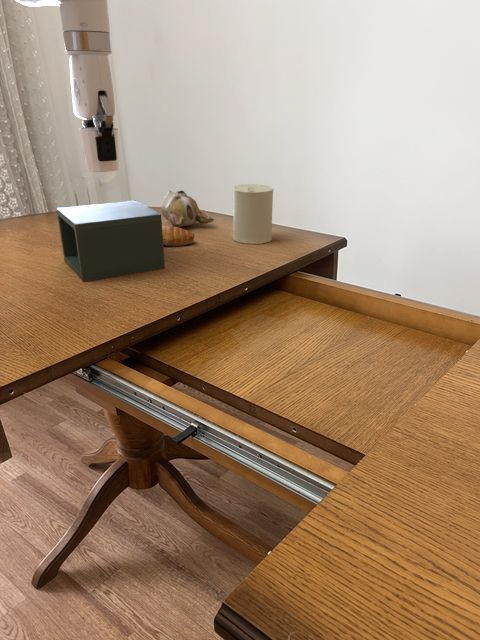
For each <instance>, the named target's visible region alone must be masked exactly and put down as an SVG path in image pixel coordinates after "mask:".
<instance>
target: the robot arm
mask: <svg viewBox="0 0 480 640" xmlns="http://www.w3.org/2000/svg"><path fill="white" fill-rule="evenodd" d="M15 1H16V2H17V3H19V4H21V5H24V6H27V7H44V6H57V7H59V12H60V21H61V29H62V36H63V42H64V43H63V45H64V52H65V55H67V56H69V74H70V75H69V76H70V87H71V99H72V109H73V115H74V116H75V117H77V118H79V119H81V121H82V128H86V127H95V128H96V132H97V136H98V137H95V139H96V147H97V156H98V160H99V161H101V162H102V161H115V160H116V159H117V156H116V146H115V137H114V135H115V133H114V129H113V128H114V127H115V125H114V118H115V116H116V104H115V103H116V102H115V94H114V87H113V86H114V85H113V78H112V73H111V66H110V61H109V60H110V59H109V57H112V56H113V48H112V38H111V27H110V17H109V8H108V6H109V5H108V0H15ZM100 127H101V128H100Z"/></svg>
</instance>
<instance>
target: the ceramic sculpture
mask: <svg viewBox="0 0 480 640" xmlns="http://www.w3.org/2000/svg"><path fill="white" fill-rule="evenodd" d="M160 210H161V215H162V216H163V217H164V219H166V220H167V221H168V222H169V223H170V224H171V226H174V227H178V228H182V227H189V226H192V225H194V224H195V223H196V222H198V223H199V224H203V225H204V224H205V225H206V224H209V223H212V222H214V221H215V219H214V218H213V217H211V216H210V214H209V213H208V212H207V211H205V210H204V209H200V208H199V205H198V203H197V201H196V200H195V199H194V198H193V197H191V196H188V193H186V192H185V190H178V191H176V192H173V191H172V190H168V191H167V193H166V195H165V196H164V197H163V200H162V203H161V206H160Z"/></svg>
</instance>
